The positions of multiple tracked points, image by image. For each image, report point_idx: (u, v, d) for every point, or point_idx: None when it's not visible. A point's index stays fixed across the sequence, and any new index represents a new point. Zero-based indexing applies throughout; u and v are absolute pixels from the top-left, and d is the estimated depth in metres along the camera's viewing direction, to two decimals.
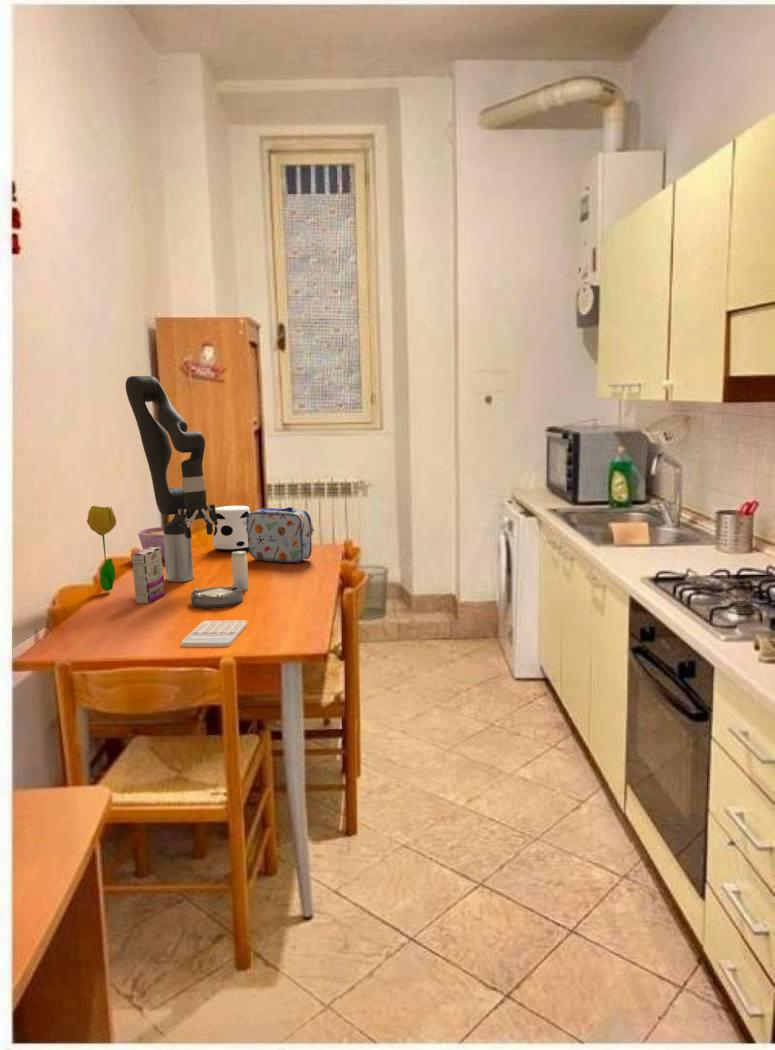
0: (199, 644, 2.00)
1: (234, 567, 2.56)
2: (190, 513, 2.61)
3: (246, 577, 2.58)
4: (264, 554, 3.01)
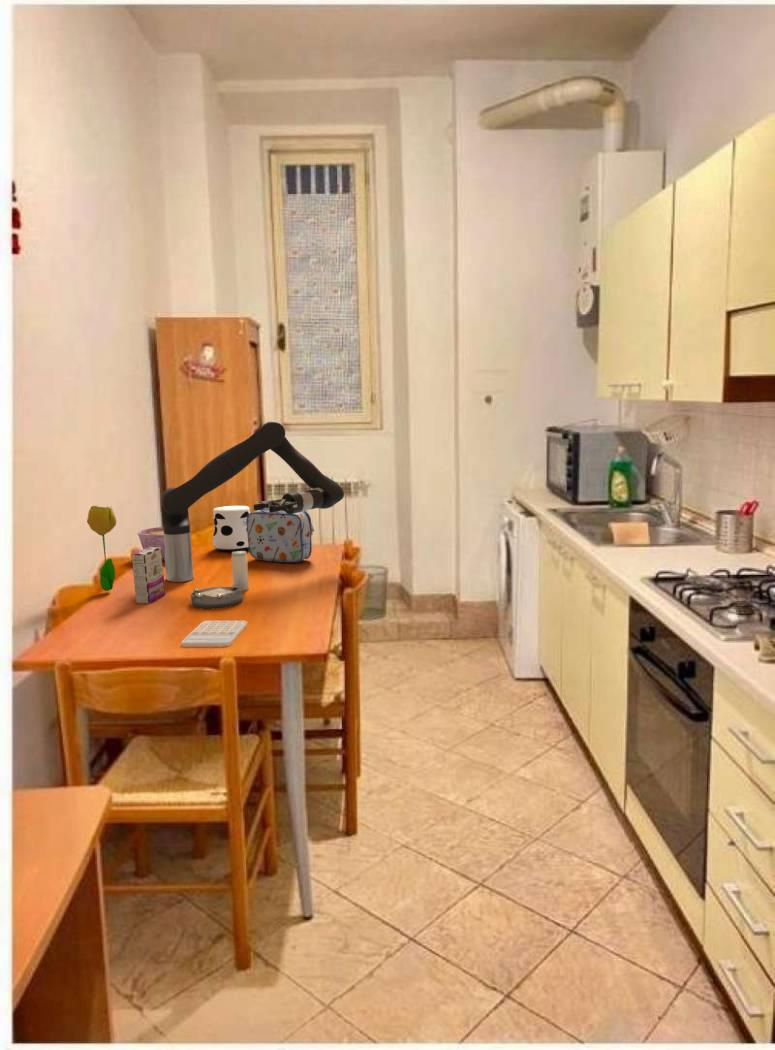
0: (200, 644, 2.00)
1: (234, 567, 2.56)
2: (287, 508, 2.67)
3: (246, 577, 2.58)
4: (264, 554, 3.01)
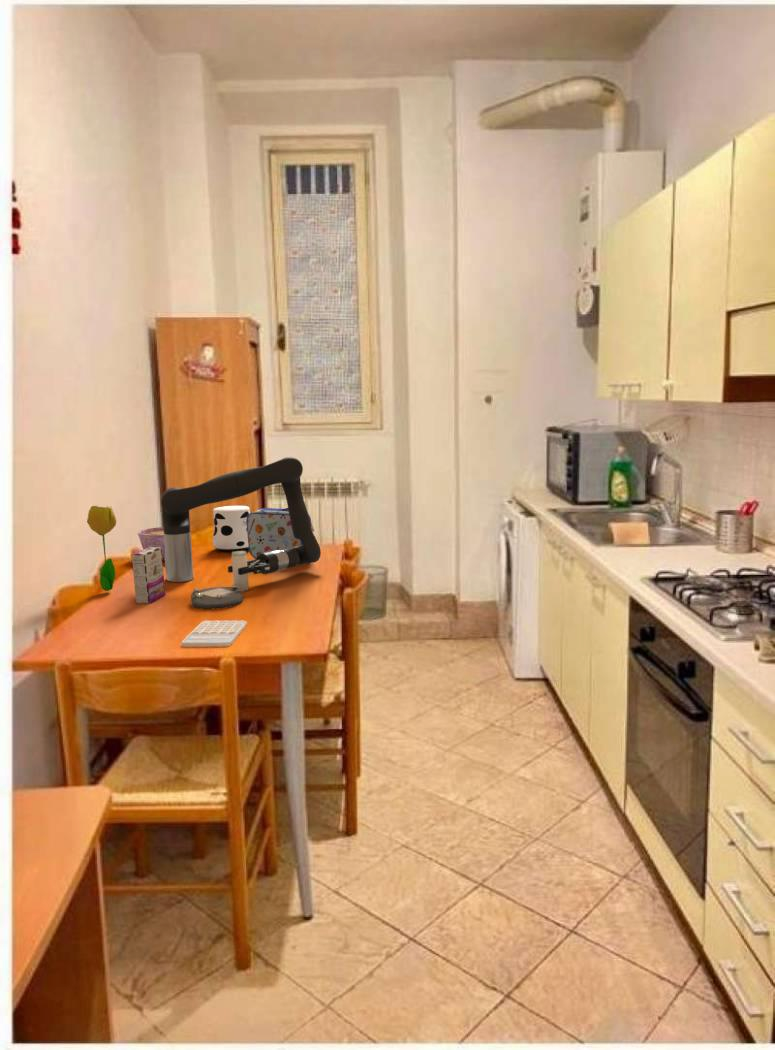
0: (200, 644, 2.00)
1: (234, 567, 2.56)
2: None
3: (246, 577, 2.58)
4: None
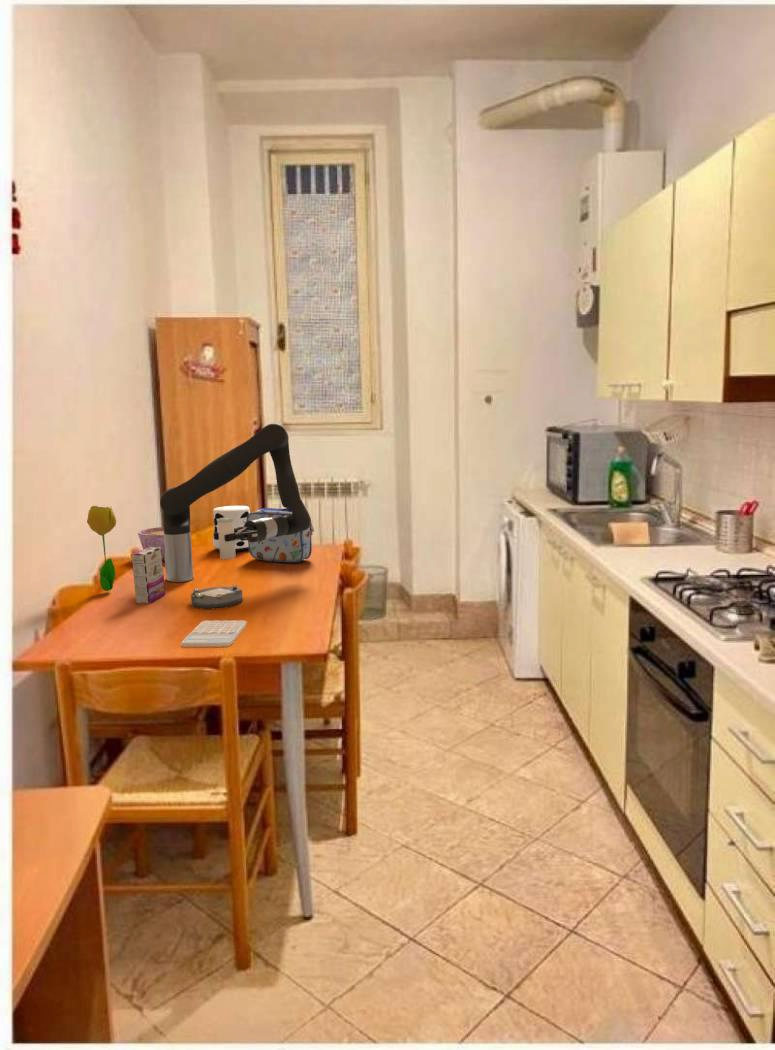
0: (200, 644, 2.00)
1: (220, 534, 2.46)
2: (247, 537, 2.51)
3: (233, 544, 2.48)
4: (264, 554, 3.01)
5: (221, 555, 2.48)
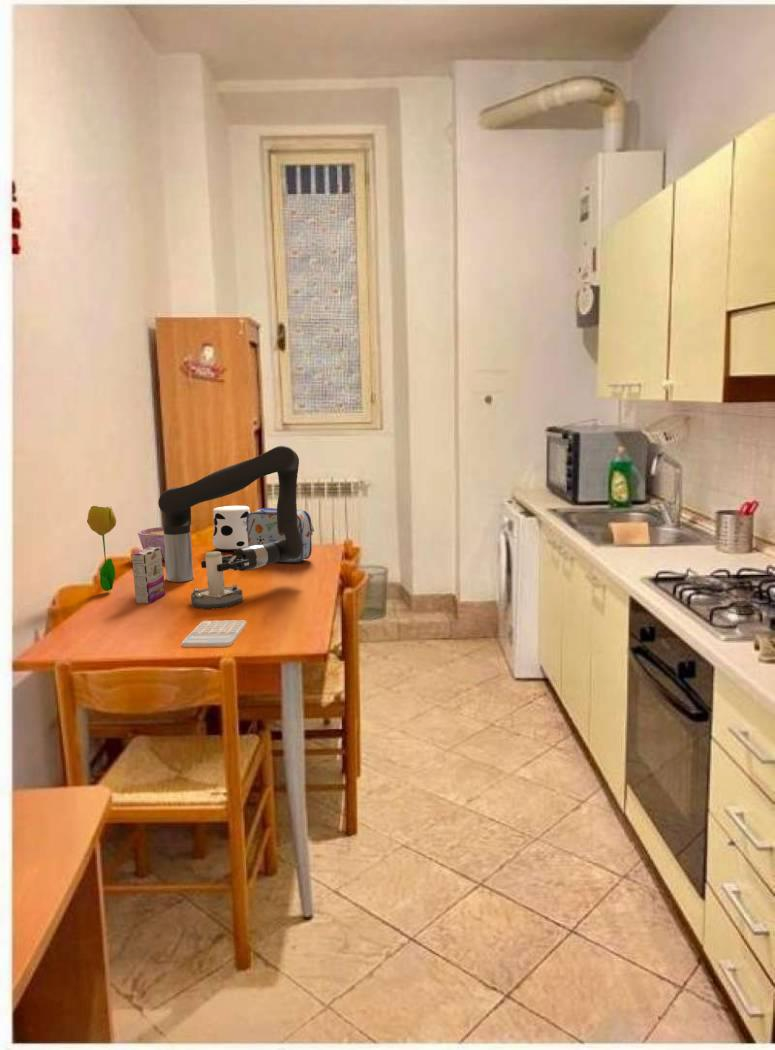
0: (200, 644, 2.00)
1: (208, 569, 2.40)
2: (237, 566, 2.45)
3: (222, 579, 2.42)
4: None
5: (209, 590, 2.41)
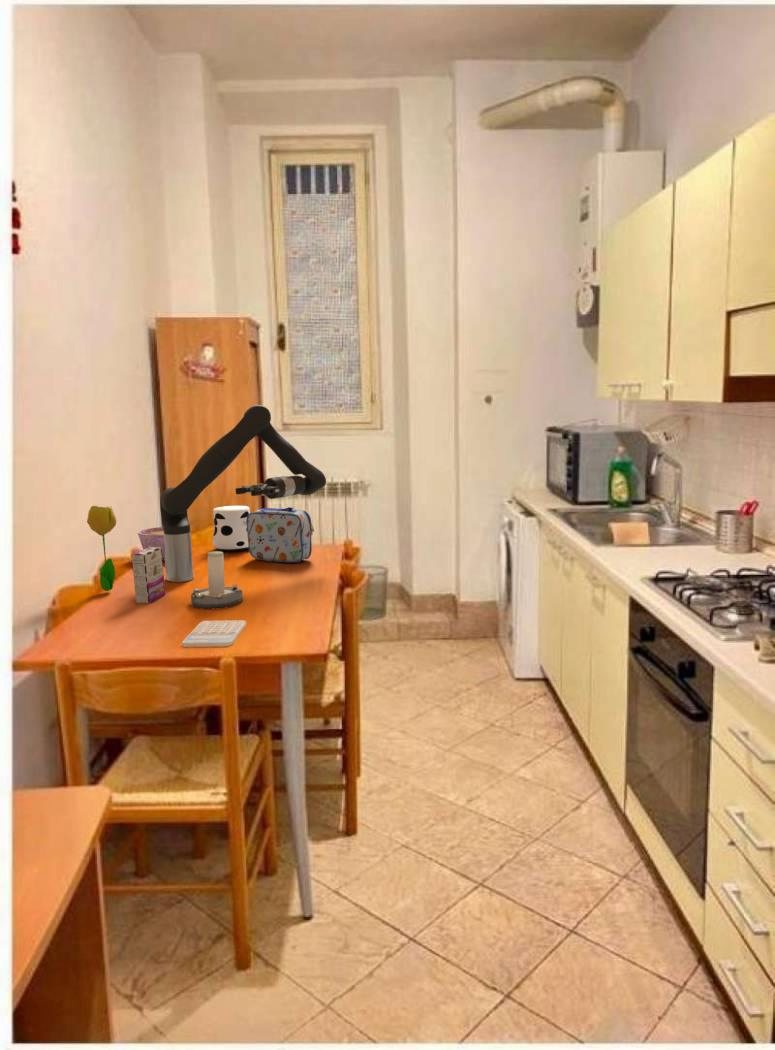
0: (201, 644, 2.00)
1: (209, 568, 2.40)
2: (269, 492, 2.68)
3: (222, 579, 2.42)
4: (264, 554, 3.01)
5: (209, 590, 2.41)
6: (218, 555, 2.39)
